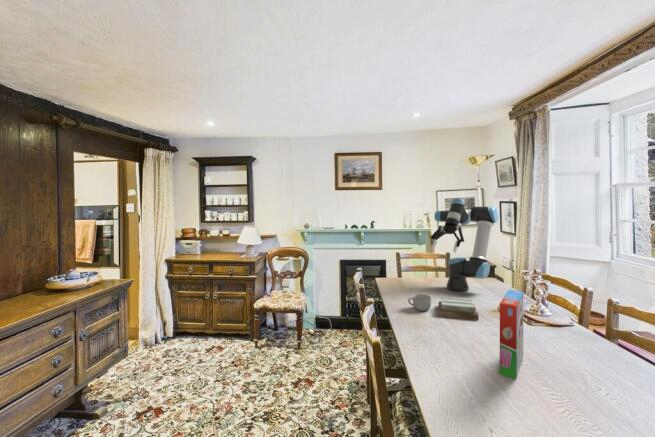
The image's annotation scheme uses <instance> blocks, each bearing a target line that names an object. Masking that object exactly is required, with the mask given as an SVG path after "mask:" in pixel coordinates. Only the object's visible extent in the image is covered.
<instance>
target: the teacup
mask: <svg viewBox="0 0 655 437" xmlns="http://www.w3.org/2000/svg"><path fill="white" fill-rule="evenodd" d="M411 300H412V302H411ZM407 302H408V303H409V305H411V306H412V307H413V308H415V309H416V310H417V311H420V312H426V311H428V310H429V309H431V307H432V297H431V296H430V295H429V294H424V293H415V294H413V295H412V297H409V298H408V300H407Z"/></svg>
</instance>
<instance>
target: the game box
mask: <svg viewBox="0 0 655 437" xmlns="http://www.w3.org/2000/svg"><path fill="white" fill-rule="evenodd" d="M523 358H524V291H521V290H513V289H508V290H507V291H506V293H505V294H504V296H503V298H502V299H501V301H500V303H499V374H500V375H502V376H505V377H508V378H511V379H514V380H517V378H518V374H519V371H520V367H521V364H522V361H523Z"/></svg>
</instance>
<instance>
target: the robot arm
mask: <svg viewBox="0 0 655 437" xmlns="http://www.w3.org/2000/svg"><path fill="white" fill-rule="evenodd" d="M465 204H466V201H465V200H464V199H463V198H459V197H458V198H454V199H453V200H452V201H451V204H450V207H449V210H436V211H435V212H434V221H435V222H440V223H441V222H442V223H444V226H442V225H439V226H438V228H437V229H436V231H434V233H433V234H432V235H431V236H430V239H431V247H430V248H431V250H432V251H435V249H436V246H437V244H438V243H437V242H438V240H439V239H440V238H441V237H443V236H445V235H452V234H453V235H454V237H455V239H456V240H455V242H454V246H453V249H452V251H453V252H454V253H457V251H458V248H460V246H461V243H465V238H464V234H463V228H462V227H461V226H459V225H462V226H466V225H468V224H470V222H472V223H475V224H476V225H477V228H476V233H475V240H474V245H473V251H472V256H469V259H468V260H467V258H466V257H452V258H450V259H449V260H448V280H447V282H446V289H447V290H449V291H453V292H468V291H469V288H470V287H469V283H468V281H467V278H474V279H478V280H479V279H480V280H483V279H484V280H485V279H486V278H487V277H489V273H490V272H491V271H490V270H491V267H490V266H491V265H490V263H489V262H488V259H487V258H486V257H487V252H488V246H489V242H490V241H489V240H490V235H491V234H490V233H491V228H492V227H493V226H495V224H496V223H498V220H499V213H498V209H497V208H496V207H495V206H489V205H488V206H470V207H465ZM457 231H458V233H459V236H458V235H457V233H456V232H457Z"/></svg>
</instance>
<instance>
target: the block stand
mask: <svg viewBox="0 0 655 437" xmlns="http://www.w3.org/2000/svg"><path fill="white" fill-rule="evenodd" d="M438 316H439V317H441V318H450V319H461V320H473V321H479V312H478V311H477V308H476V305H475V303H474V302H473V300H472V299H461V298H449V297H441V298H440V301H438Z"/></svg>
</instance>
